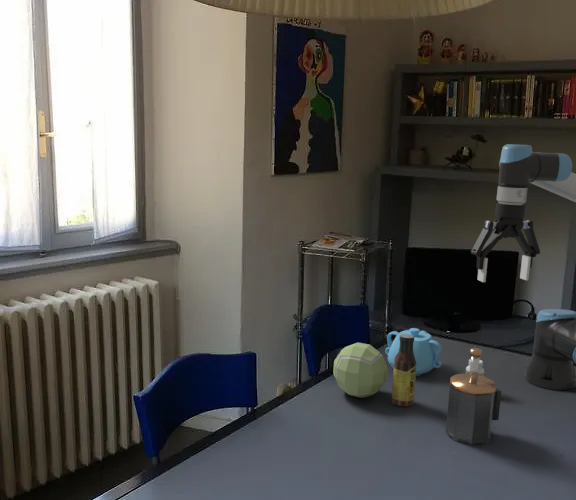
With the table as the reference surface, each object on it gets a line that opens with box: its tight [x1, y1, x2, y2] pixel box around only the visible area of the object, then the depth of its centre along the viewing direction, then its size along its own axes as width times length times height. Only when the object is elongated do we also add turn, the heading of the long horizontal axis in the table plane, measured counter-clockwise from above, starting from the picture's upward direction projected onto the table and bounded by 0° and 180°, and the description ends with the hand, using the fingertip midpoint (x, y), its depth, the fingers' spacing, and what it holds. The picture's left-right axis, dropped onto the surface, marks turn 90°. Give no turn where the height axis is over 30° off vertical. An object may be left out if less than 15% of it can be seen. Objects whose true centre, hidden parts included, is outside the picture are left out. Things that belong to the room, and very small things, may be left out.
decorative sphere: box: [332, 342, 388, 399], centre depth 183 cm, size 15×15×15 cm
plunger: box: [449, 347, 497, 395], centre depth 160 cm, size 11×11×21 cm
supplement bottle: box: [464, 358, 485, 377], centre depth 189 cm, size 5×5×10 cm
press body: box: [445, 384, 502, 446], centre depth 162 cm, size 14×11×13 cm
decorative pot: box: [384, 327, 443, 377], centre depth 205 cm, size 16×16×14 cm
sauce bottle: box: [391, 334, 417, 408], centre depth 178 cm, size 7×6×20 cm
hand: (502, 280), depth 174 cm, fingers open, 13 cm apart
